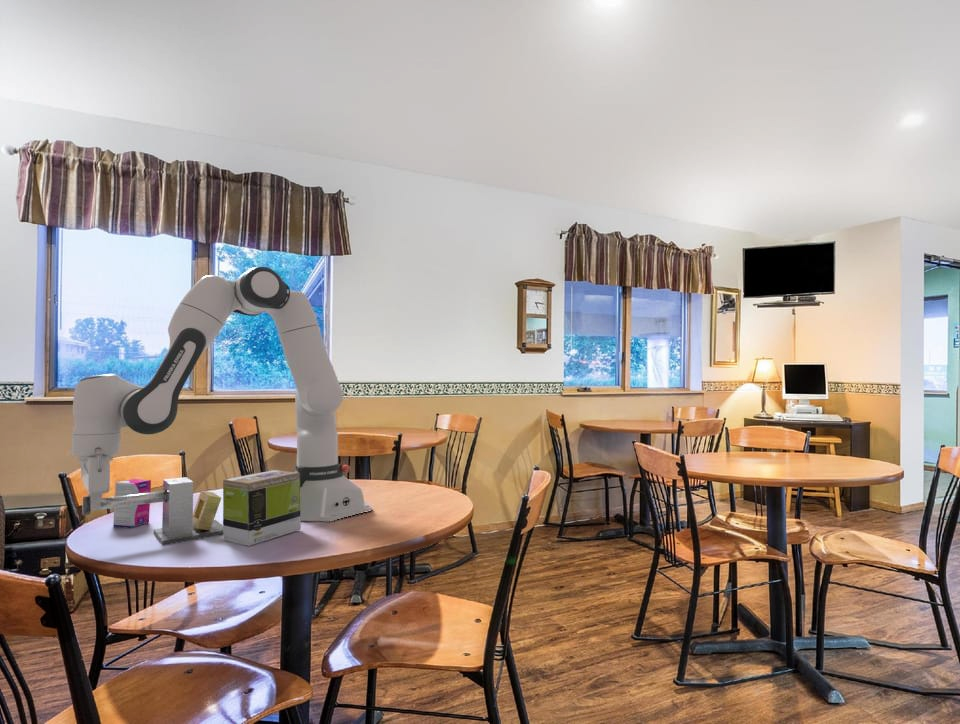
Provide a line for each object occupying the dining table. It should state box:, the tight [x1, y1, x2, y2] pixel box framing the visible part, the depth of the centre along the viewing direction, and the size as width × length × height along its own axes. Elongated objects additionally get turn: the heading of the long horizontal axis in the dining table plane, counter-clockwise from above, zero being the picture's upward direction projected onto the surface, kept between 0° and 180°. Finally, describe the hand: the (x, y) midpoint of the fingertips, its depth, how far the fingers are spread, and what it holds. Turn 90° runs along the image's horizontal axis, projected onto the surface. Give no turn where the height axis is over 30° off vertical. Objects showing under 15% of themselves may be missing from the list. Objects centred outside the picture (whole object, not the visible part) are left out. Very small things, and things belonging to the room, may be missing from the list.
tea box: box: [222, 469, 302, 547], centre depth 127 cm, size 15×10×15 cm
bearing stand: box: [153, 476, 223, 546], centre depth 128 cm, size 14×12×13 cm
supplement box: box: [112, 478, 152, 529], centre depth 136 cm, size 6×6×12 cm
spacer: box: [193, 490, 222, 530], centre depth 130 cm, size 3×8×8 cm, turn 40°
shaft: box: [81, 490, 168, 516], centre depth 121 cm, size 19×4×4 cm, turn 130°
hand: (94, 508), depth 116 cm, fingers closed on shaft, 2 cm apart
